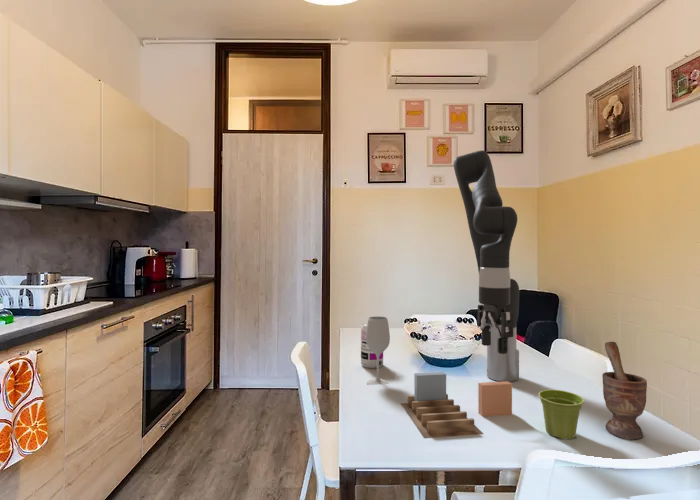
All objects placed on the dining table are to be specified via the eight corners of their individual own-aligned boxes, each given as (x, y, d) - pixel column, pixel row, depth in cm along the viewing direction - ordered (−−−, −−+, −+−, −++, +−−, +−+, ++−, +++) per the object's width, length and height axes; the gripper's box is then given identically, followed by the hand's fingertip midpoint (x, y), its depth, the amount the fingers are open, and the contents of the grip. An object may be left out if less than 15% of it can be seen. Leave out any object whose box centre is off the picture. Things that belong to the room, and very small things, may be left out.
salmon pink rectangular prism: (507, 416, 104) (507, 381, 104) (511, 419, 102) (511, 383, 102) (478, 418, 103) (478, 382, 103) (482, 421, 101) (482, 385, 101)
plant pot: (593, 442, 90) (593, 403, 90) (552, 444, 89) (552, 405, 89) (567, 424, 99) (567, 389, 99) (530, 425, 99) (530, 390, 99)
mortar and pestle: (584, 420, 101) (584, 341, 101) (613, 418, 103) (614, 339, 103) (623, 442, 90) (623, 352, 90) (656, 439, 92) (656, 351, 91)
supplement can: (385, 363, 152) (385, 323, 152) (379, 369, 144) (379, 327, 144) (364, 361, 154) (364, 322, 154) (358, 367, 147) (358, 326, 147)
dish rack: (449, 405, 112) (449, 391, 111) (483, 439, 92) (483, 422, 92) (400, 407, 110) (400, 393, 110) (424, 443, 90) (424, 426, 90)
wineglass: (388, 388, 125) (388, 320, 125) (364, 386, 126) (364, 319, 126) (391, 380, 132) (391, 316, 132) (368, 379, 134) (367, 315, 133)
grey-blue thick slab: (443, 405, 108) (443, 371, 108) (446, 408, 106) (446, 374, 106) (414, 407, 107) (414, 373, 107) (416, 410, 105) (416, 375, 105)
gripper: (523, 287, 96) (523, 356, 96) (494, 282, 110) (494, 342, 110) (493, 288, 95) (493, 357, 95) (468, 283, 109) (468, 343, 109)
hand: (493, 349), depth 103 cm, fingers open, 8 cm apart
